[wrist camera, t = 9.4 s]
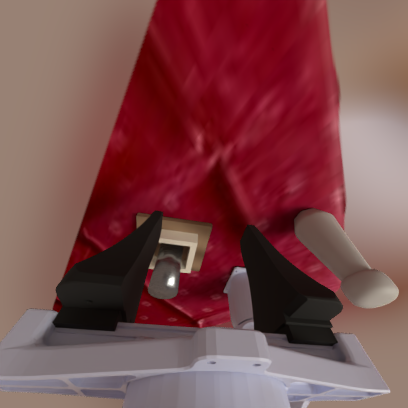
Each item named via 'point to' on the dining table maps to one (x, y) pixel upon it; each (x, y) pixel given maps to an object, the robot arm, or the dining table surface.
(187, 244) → the socket board
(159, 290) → the peg
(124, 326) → the robot arm
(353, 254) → the salt shaker
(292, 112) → the dining table surface
